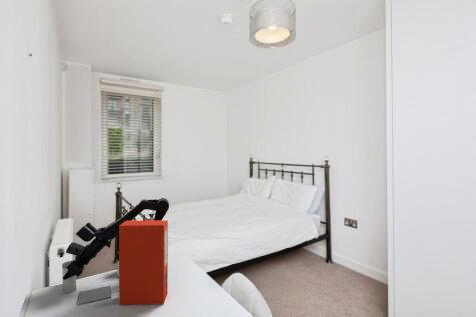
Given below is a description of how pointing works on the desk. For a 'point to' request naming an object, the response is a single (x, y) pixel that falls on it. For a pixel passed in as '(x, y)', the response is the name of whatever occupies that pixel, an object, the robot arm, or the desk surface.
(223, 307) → the desk surface
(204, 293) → the desk surface
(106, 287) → the charcoal pad
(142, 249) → the file binder
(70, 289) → the tin canister
